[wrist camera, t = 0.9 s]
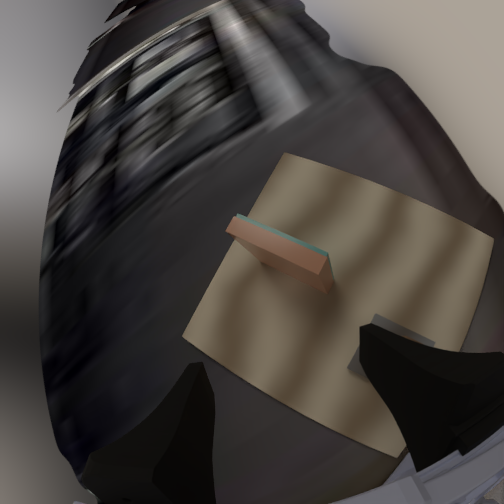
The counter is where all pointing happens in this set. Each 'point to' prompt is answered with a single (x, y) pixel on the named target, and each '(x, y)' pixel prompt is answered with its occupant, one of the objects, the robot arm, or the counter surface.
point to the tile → (284, 252)
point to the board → (339, 294)
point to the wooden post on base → (393, 327)
